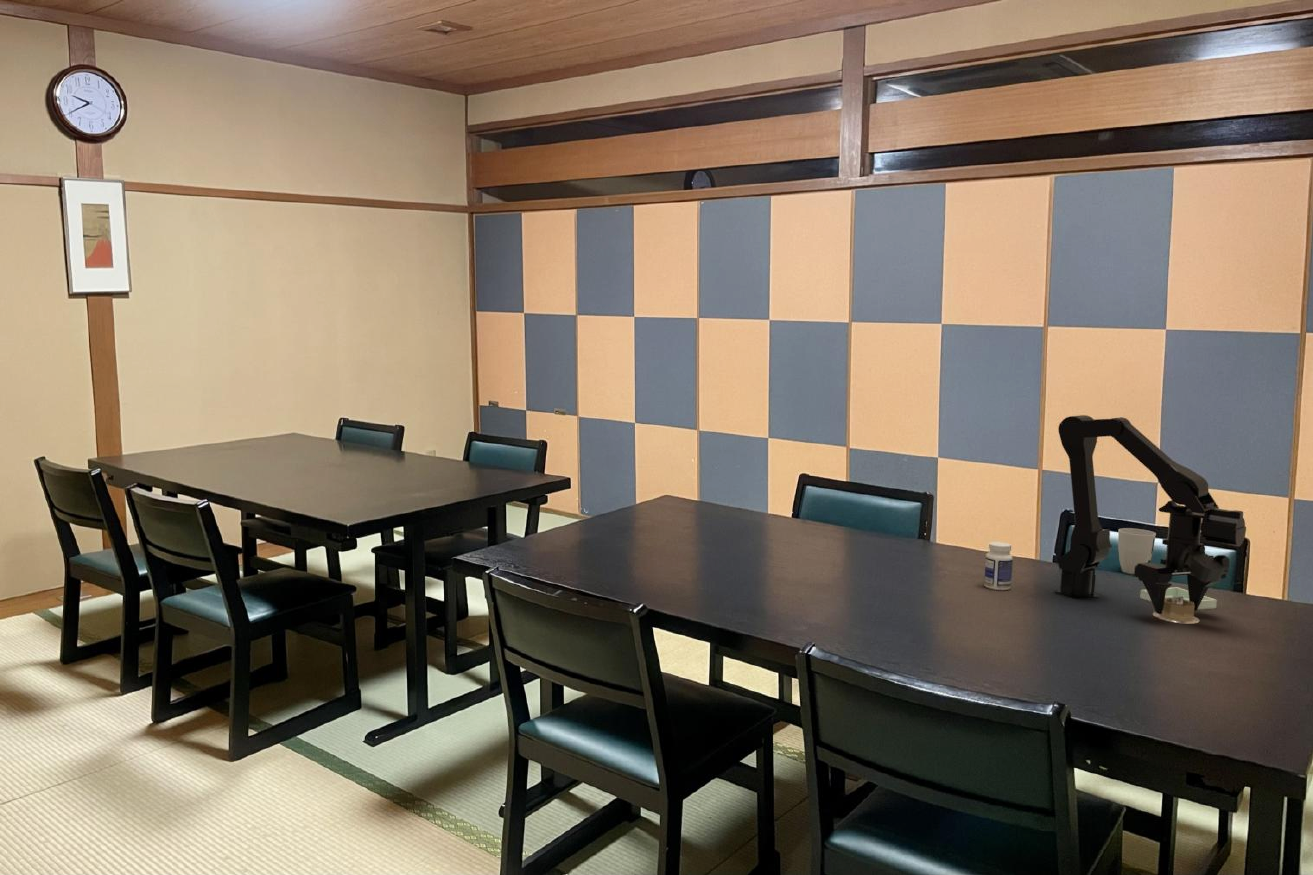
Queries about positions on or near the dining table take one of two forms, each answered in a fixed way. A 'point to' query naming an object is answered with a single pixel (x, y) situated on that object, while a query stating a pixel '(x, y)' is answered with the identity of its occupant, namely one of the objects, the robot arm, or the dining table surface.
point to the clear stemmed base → (1177, 601)
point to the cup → (1134, 547)
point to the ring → (1178, 610)
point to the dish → (1175, 591)
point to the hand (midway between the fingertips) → (1176, 611)
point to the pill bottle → (998, 566)
